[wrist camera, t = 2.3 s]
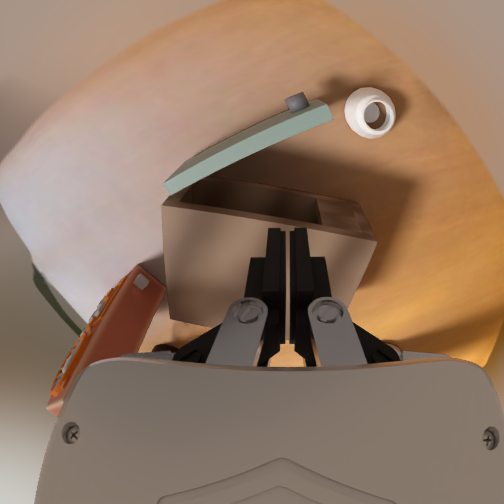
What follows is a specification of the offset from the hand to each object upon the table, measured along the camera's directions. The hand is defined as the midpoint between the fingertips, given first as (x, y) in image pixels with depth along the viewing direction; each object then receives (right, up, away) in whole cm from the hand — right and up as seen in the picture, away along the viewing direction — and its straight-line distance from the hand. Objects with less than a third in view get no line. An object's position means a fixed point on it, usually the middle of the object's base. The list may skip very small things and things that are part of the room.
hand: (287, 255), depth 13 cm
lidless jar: (+9, +14, +10) cm, 19 cm away
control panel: (-20, -6, +27) cm, 34 cm away
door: (-2, +11, +12) cm, 16 cm away
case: (0, +1, +20) cm, 20 cm away
